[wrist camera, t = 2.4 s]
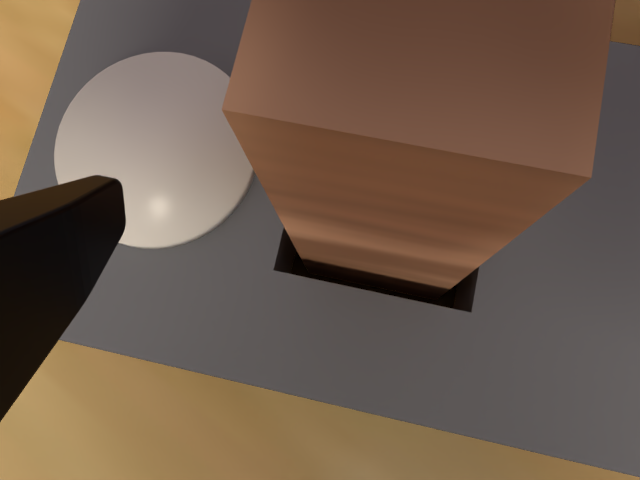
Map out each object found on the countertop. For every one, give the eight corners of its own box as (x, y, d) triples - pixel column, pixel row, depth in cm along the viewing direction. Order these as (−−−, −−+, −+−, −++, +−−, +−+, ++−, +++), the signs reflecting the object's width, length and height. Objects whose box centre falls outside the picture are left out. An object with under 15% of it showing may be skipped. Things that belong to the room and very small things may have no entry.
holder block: (699, 482, 17) (798, 516, 14) (38, 326, 20) (-41, 317, 16) (730, 123, 20) (822, 64, 16) (135, 21, 22) (87, -52, 18)
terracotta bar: (436, 300, 19) (590, 177, 6) (308, 273, 20) (221, 109, 7) (458, 177, 20) (635, -143, 7) (335, 154, 20) (302, -186, 8)
